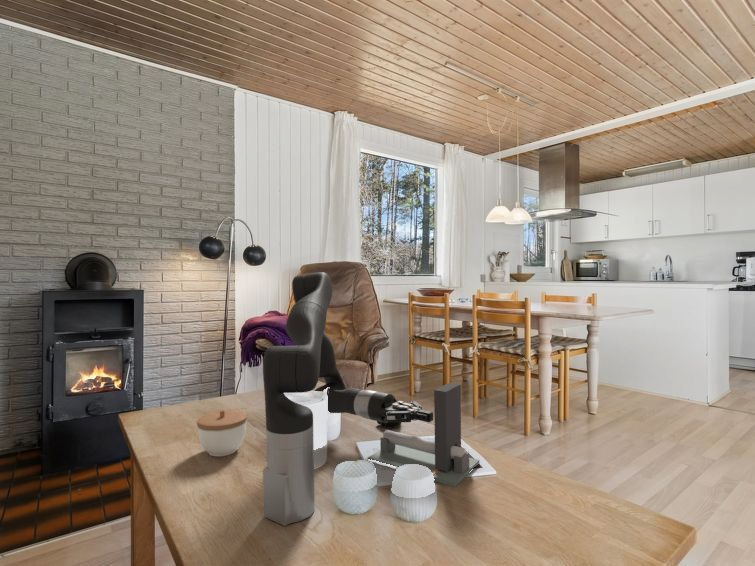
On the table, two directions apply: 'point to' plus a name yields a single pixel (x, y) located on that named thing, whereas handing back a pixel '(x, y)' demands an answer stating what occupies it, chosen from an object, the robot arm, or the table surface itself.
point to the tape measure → (389, 424)
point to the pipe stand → (423, 456)
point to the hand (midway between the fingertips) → (431, 417)
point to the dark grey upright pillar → (447, 424)
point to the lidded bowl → (222, 432)
